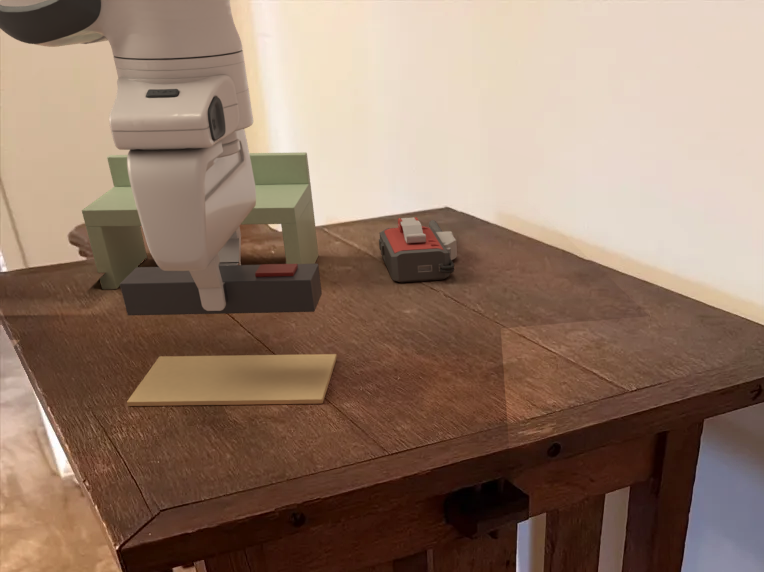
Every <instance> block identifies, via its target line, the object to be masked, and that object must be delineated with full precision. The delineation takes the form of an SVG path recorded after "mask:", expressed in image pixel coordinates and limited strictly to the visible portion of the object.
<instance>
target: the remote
mask: <svg viewBox="0 0 764 572" xmlns="http://www.w3.org/2000/svg"><path fill="white" fill-rule="evenodd" d="M218 267H219V270H220V274H221V278H222V282H225V284H226V290H227V295H228V302H227V304H226V306H225V308H224V309H223V310H221V311H207V310H205V309H204V308H203V307H202V303H201V299H200V294H199V289H198V287H197V285H196V283H195V281H194V280H193V278H192V276H191V274H190V272H189V271H164V270H162V269H160V268H159V266H139V267H136V268H135V269H134V270H133V271H132V272H131V273H130V274H129V275H128V276H127V277H126V278H125V279H124V280H123V281H122V282H121V283H120V286H119V287H120V291H121V294H122V299H123V303H124V306H125V311H126V314H127V316H128V317H129V316H130V317H132V316H174V315H176V316H177V315H179V316H180V315H227V314H234V315H235V314H274V313H280V314H281V313H283V314H284V313H315V312H316V309H317V306H318V304H319V301H320V300H321V297H322V294H323V293H322V292H323V291H322V284H321V276H320V268H319V263H315V264H286V263H269V264H268V263H266V264H265V263H264V264H241V265H225V266H218Z"/></svg>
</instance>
